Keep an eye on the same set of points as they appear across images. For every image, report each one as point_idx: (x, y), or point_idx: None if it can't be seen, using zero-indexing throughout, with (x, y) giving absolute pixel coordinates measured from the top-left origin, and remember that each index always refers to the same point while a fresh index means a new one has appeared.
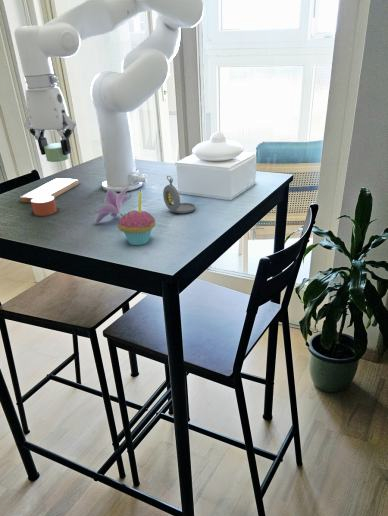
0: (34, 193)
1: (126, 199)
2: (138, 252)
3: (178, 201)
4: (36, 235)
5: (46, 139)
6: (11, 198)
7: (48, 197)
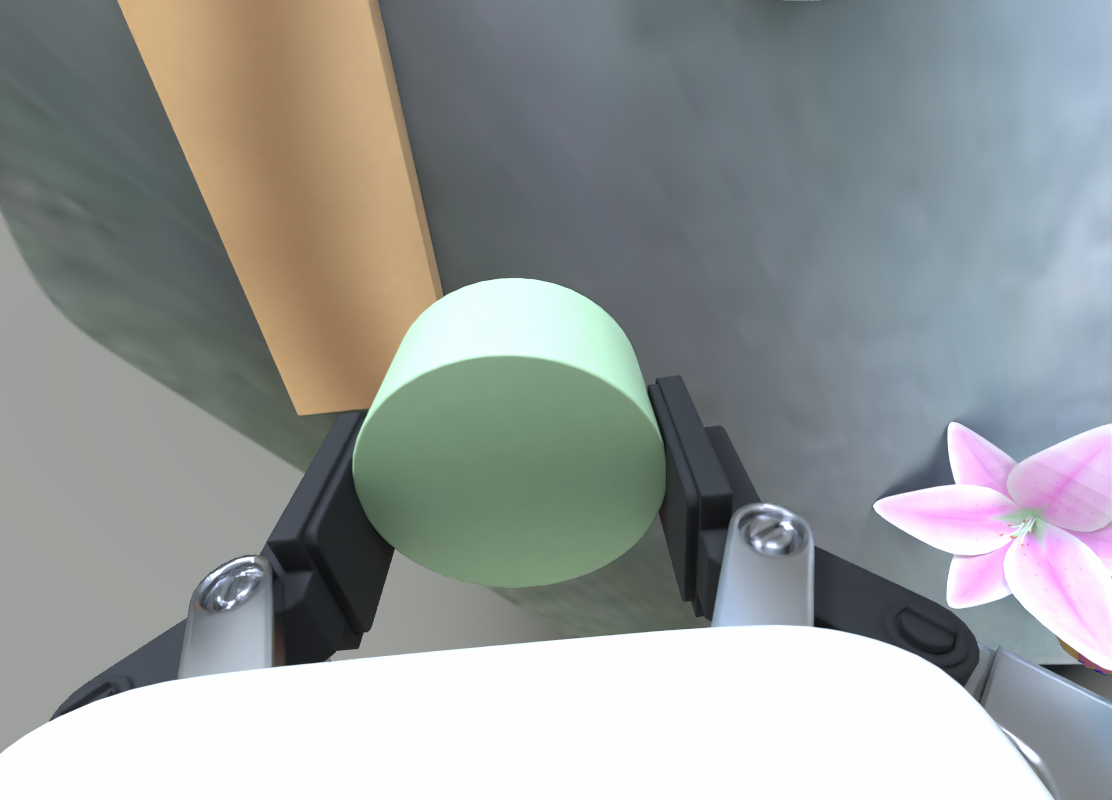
0: (319, 336)
1: (1091, 447)
2: None
3: None
4: (687, 621)
5: (322, 523)
6: (185, 366)
7: None
